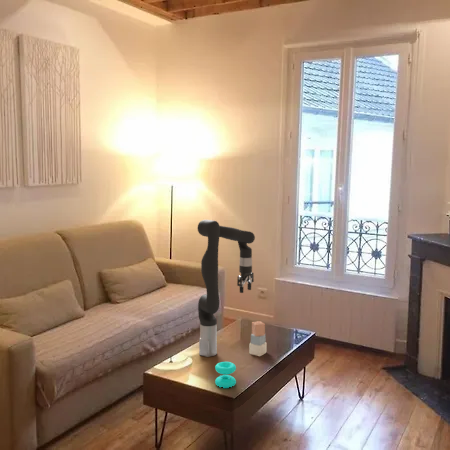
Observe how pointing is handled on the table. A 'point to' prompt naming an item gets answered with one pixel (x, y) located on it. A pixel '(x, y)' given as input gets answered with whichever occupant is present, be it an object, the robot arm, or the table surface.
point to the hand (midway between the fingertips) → (245, 291)
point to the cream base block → (257, 349)
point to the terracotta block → (258, 328)
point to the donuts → (225, 369)
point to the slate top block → (258, 339)
